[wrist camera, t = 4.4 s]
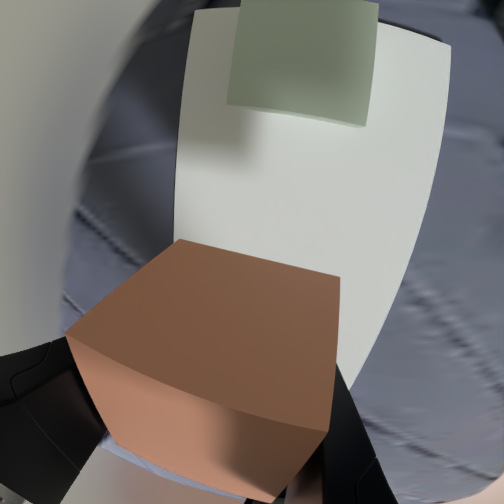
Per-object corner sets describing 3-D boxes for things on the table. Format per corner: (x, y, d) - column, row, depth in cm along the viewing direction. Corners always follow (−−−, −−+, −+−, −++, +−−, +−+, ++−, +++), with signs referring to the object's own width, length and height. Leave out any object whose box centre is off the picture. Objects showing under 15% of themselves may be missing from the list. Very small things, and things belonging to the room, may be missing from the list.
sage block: (355, 128, 12) (365, 126, 8) (260, 111, 13) (225, 104, 9) (366, 41, 10) (378, 3, 6) (271, 27, 11) (243, -10, 7)
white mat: (339, 401, 19) (339, 406, 19) (181, 357, 22) (177, 362, 21) (446, 48, 9) (451, 46, 8) (199, 13, 11) (195, 10, 11)
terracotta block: (301, 386, 9) (270, 503, 5) (181, 350, 10) (116, 444, 6) (340, 277, 7) (327, 432, 3) (180, 238, 8) (64, 332, 4)
